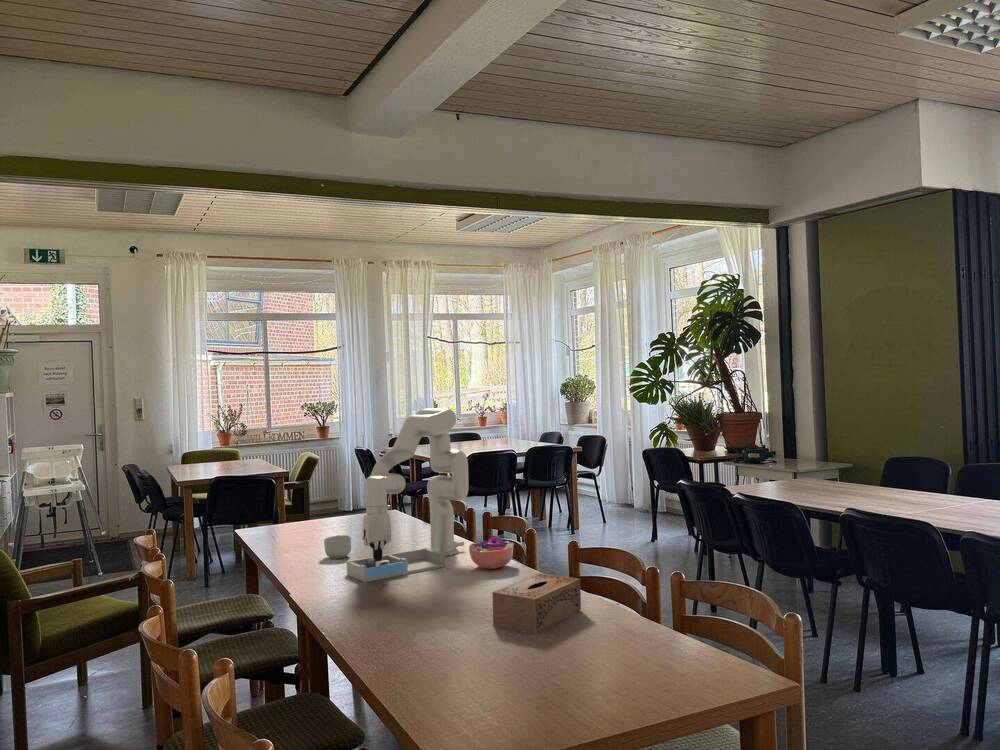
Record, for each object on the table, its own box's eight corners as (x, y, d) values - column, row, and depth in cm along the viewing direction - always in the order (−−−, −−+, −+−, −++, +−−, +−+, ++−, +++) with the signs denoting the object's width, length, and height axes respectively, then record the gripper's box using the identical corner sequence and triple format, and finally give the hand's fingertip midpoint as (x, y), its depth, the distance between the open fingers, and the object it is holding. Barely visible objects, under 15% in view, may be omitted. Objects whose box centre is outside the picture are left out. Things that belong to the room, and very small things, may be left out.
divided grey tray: (426, 560, 314) (426, 547, 314) (445, 566, 303) (445, 552, 303) (347, 574, 294) (346, 560, 294) (364, 582, 283) (364, 567, 283)
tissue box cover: (540, 604, 250) (539, 573, 250) (580, 611, 242) (580, 578, 242) (493, 626, 229) (492, 592, 229) (535, 635, 221) (534, 599, 221)
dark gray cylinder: (366, 570, 296) (366, 558, 296) (377, 568, 298) (377, 556, 298) (379, 575, 288) (378, 562, 288) (390, 573, 290) (389, 560, 290)
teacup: (348, 560, 318) (347, 540, 318) (321, 560, 318) (320, 540, 318) (355, 552, 332) (354, 533, 332) (329, 552, 332) (328, 533, 332)
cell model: (458, 571, 295) (458, 540, 296) (484, 560, 313) (484, 531, 313) (499, 575, 288) (498, 544, 288) (523, 563, 305) (523, 534, 305)
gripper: (389, 506, 300) (390, 555, 300) (353, 511, 292) (354, 561, 291) (399, 508, 294) (400, 558, 294) (362, 513, 286) (364, 564, 285)
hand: (377, 559), depth 293 cm, fingers closed
